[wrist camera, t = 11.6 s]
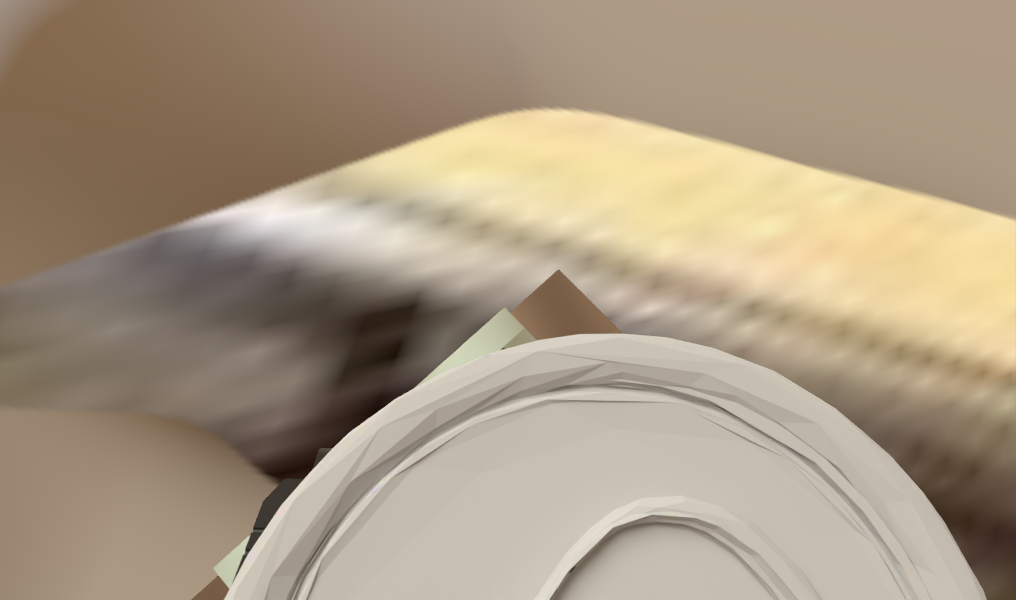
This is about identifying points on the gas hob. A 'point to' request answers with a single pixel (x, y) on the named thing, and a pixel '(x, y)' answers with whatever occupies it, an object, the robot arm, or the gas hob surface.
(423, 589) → the beverage can
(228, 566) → the board
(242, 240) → the gas hob surface
